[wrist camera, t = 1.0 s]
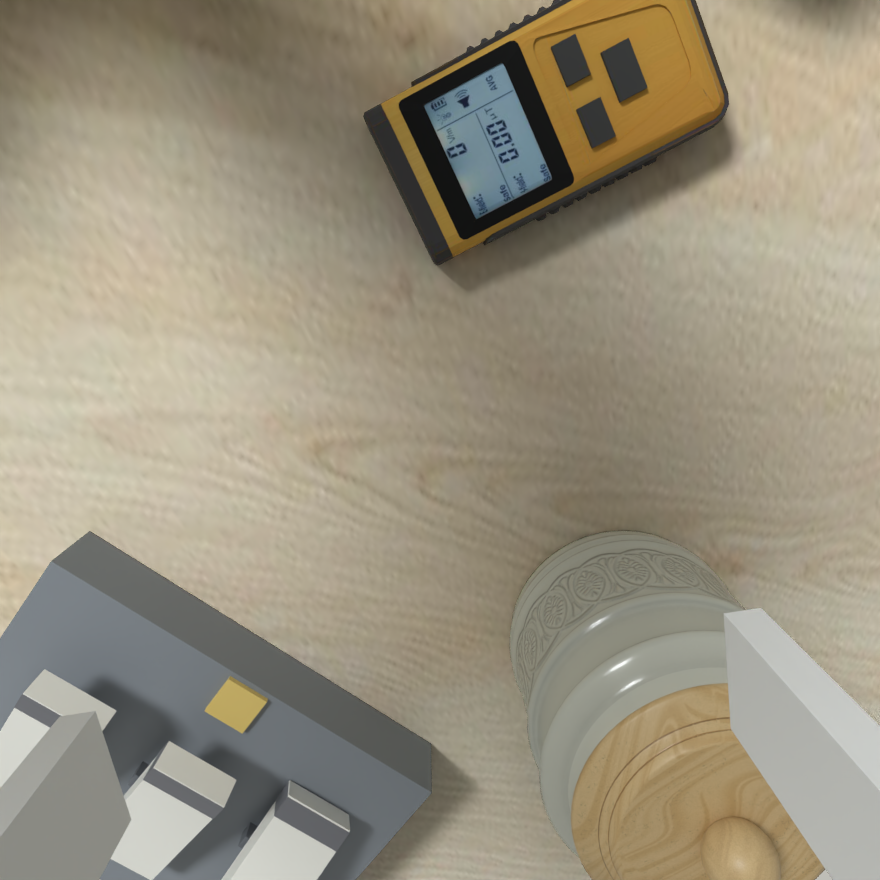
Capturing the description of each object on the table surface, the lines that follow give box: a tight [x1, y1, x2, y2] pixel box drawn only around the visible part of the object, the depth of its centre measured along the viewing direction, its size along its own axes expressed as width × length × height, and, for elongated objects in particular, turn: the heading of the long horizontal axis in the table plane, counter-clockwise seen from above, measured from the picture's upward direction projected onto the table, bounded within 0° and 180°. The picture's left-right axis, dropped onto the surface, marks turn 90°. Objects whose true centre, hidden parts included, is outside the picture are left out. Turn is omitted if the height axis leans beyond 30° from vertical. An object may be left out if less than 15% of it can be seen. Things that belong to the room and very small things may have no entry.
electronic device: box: [363, 0, 729, 265], centre depth 32 cm, size 8×16×3 cm, turn 116°
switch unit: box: [0, 531, 432, 880], centre depth 39 cm, size 24×16×5 cm, turn 53°
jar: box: [510, 531, 825, 880], centre depth 31 cm, size 13×13×18 cm
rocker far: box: [221, 780, 350, 880], centre depth 36 cm, size 4×9×2 cm, turn 143°
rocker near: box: [0, 669, 116, 788], centre depth 34 cm, size 4×9×2 cm, turn 143°
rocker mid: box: [111, 741, 236, 880], centre depth 35 cm, size 4×9×2 cm, turn 143°
